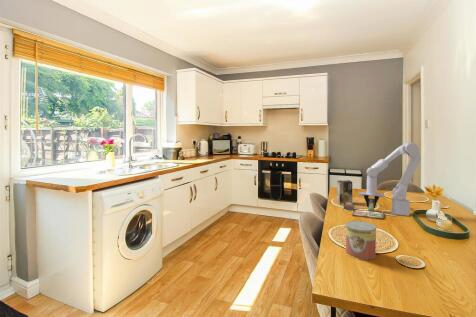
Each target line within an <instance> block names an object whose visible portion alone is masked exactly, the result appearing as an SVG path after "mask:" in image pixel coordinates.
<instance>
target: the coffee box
mask: <svg viewBox="0 0 476 317" xmlns="http://www.w3.org/2000/svg"><path fill="white" fill-rule="evenodd" d="M336 183H337V184H336V202H337V201H338V202H339V203H352V204H353V181H352V180H349V179H346V180H345V179H344V180H341V179H340V180H337V181H336ZM338 202H337V203H338ZM339 203H338V204H339Z"/></svg>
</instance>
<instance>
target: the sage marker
mask: <svg viewBox="0 0 476 317" xmlns="http://www.w3.org/2000/svg"><path fill="white" fill-rule="evenodd" d="M368 203H369V205H368V207H367V208H368V210H367V211H371V212H375V208H374V198H371V197H370V198H369V199H368Z"/></svg>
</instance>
